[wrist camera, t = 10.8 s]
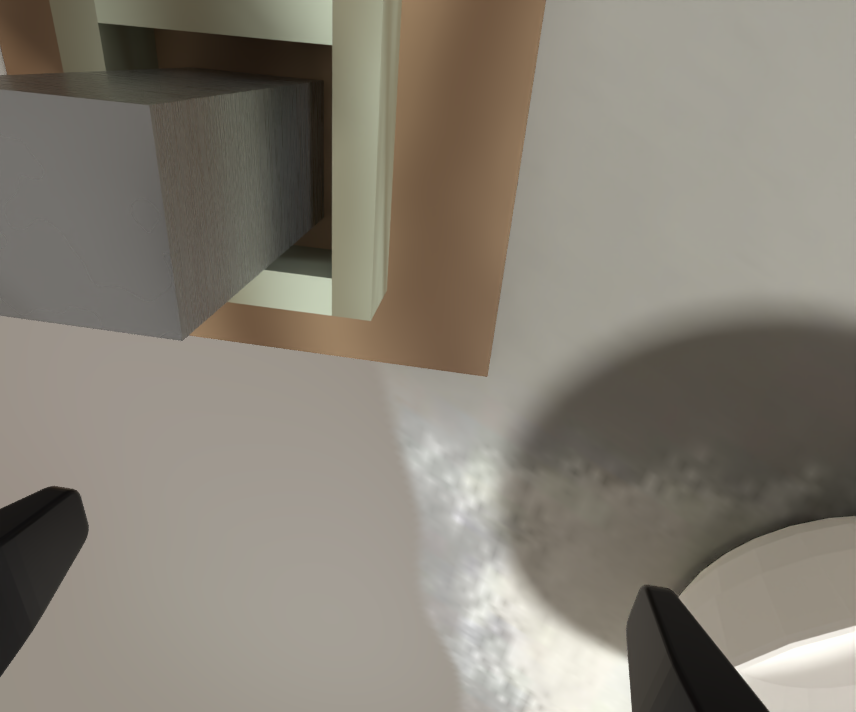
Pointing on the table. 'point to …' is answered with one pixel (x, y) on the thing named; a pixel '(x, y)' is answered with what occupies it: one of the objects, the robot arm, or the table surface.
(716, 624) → the bowl
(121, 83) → the grey tall block
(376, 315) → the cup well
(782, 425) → the table surface
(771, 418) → the table surface
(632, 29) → the table surface
